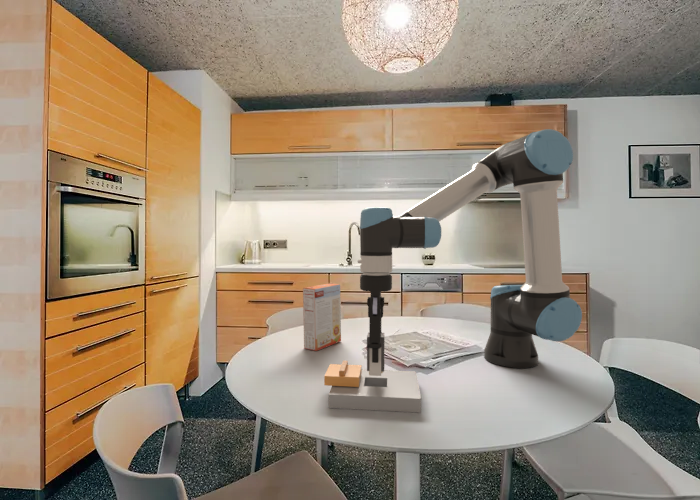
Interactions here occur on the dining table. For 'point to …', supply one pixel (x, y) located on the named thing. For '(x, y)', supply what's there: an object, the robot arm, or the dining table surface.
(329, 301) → the cracker box
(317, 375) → the dining table surface
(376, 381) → the socket plate
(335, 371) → the orange ridged block
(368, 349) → the plug
